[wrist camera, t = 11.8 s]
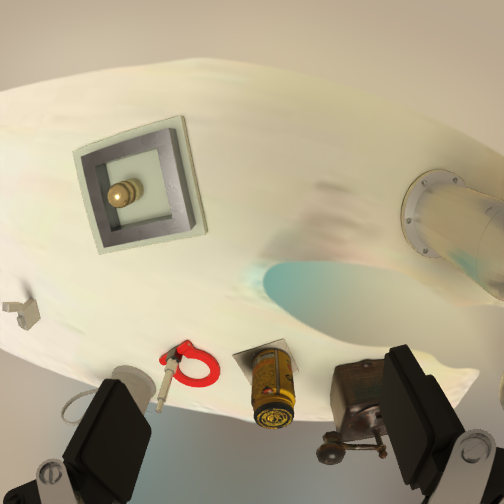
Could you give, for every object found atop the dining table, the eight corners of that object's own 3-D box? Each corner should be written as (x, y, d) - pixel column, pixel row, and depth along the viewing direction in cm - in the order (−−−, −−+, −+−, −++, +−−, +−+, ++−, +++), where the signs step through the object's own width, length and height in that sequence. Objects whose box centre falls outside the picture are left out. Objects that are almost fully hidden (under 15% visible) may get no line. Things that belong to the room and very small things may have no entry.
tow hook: (230, 370, 48) (191, 335, 45) (225, 432, 36) (174, 398, 33) (195, 389, 50) (156, 357, 47) (184, 447, 38) (135, 416, 35)
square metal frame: (175, 128, 33) (168, 127, 31) (196, 224, 37) (190, 230, 35) (92, 154, 34) (80, 156, 32) (113, 240, 38) (103, 247, 36)
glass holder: (157, 403, 51) (136, 465, 37) (91, 385, 51) (61, 438, 36) (154, 371, 48) (128, 437, 34) (84, 353, 48) (46, 407, 34)
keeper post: (141, 175, 35) (122, 181, 30) (146, 198, 36) (129, 207, 31) (120, 181, 36) (100, 187, 30) (125, 203, 37) (106, 213, 31)
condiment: (298, 370, 47) (306, 426, 35) (250, 384, 48) (248, 440, 37) (283, 337, 45) (289, 394, 33) (232, 354, 46) (225, 410, 35)
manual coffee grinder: (393, 354, 46) (433, 433, 29) (381, 398, 49) (409, 472, 32) (304, 364, 46) (318, 456, 29) (301, 408, 50) (311, 491, 33)
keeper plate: (183, 116, 34) (180, 115, 33) (207, 231, 39) (205, 234, 38) (78, 150, 36) (72, 151, 34) (103, 251, 41) (99, 254, 39)
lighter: (40, 319, 46) (17, 341, 38) (34, 317, 46) (11, 339, 38) (32, 285, 43) (6, 306, 36) (26, 283, 43) (0, 304, 36)
